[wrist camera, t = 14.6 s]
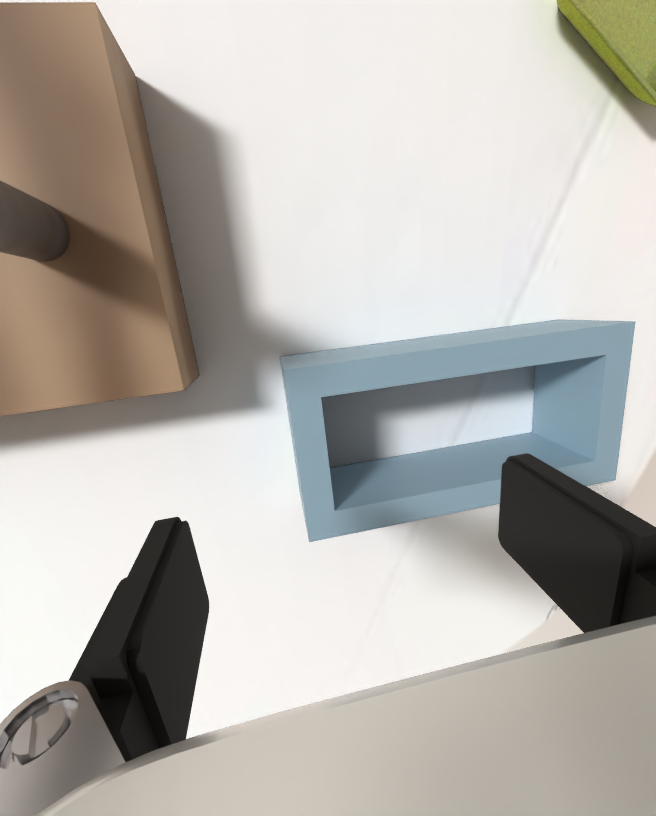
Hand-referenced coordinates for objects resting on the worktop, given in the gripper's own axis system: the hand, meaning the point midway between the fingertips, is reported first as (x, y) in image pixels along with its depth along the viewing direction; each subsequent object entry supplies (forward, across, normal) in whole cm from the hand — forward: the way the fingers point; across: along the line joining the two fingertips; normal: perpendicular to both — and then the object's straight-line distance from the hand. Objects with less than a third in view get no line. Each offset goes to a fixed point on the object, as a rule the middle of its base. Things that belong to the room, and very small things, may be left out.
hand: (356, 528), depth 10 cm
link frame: (+12, -8, +1) cm, 14 cm away
